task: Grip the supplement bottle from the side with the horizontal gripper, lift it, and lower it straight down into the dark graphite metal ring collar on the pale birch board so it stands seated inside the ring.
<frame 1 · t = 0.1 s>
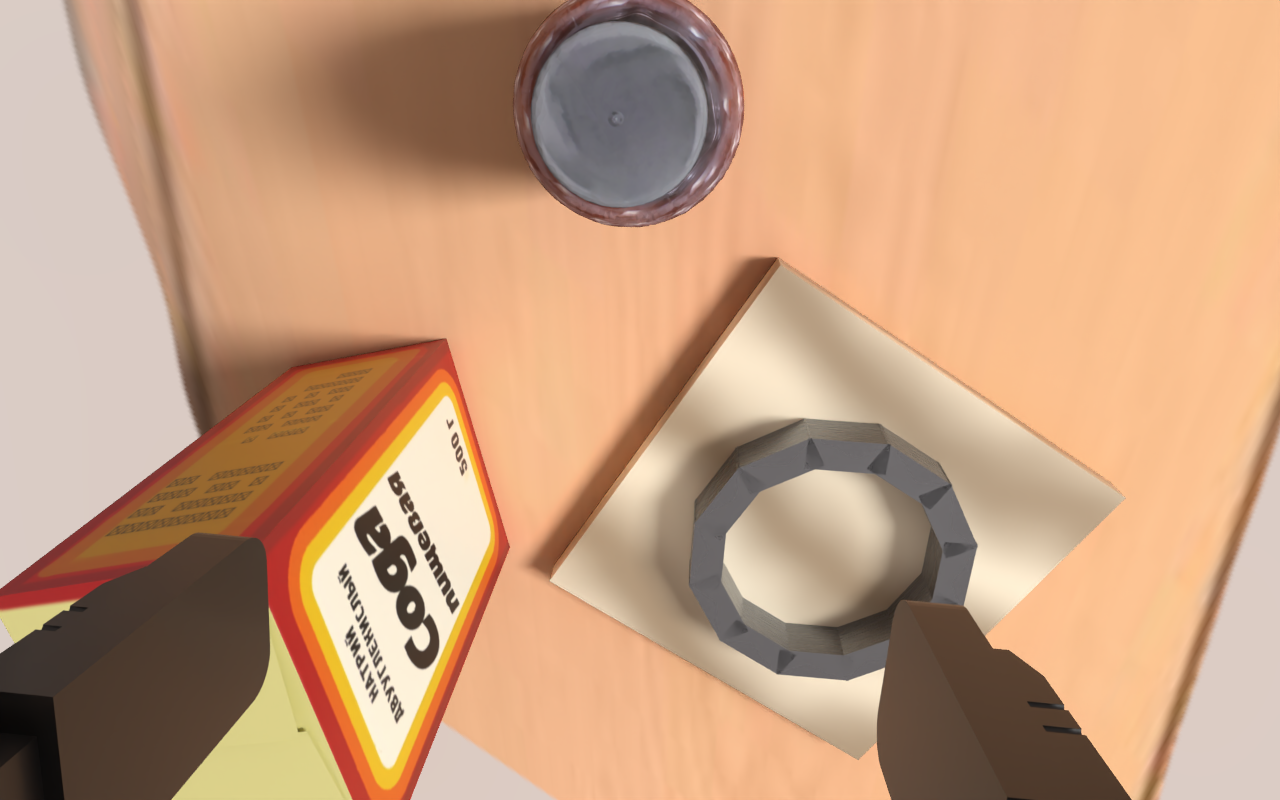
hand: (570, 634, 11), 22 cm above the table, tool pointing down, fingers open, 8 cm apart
ring collar: (826, 553, 33), on the birch board, point 2 cm above the table
baking soda box: (405, 458, 36), on the table
birch board: (820, 526, 35), on the table
supplement bottle: (646, 96, 30), on the table
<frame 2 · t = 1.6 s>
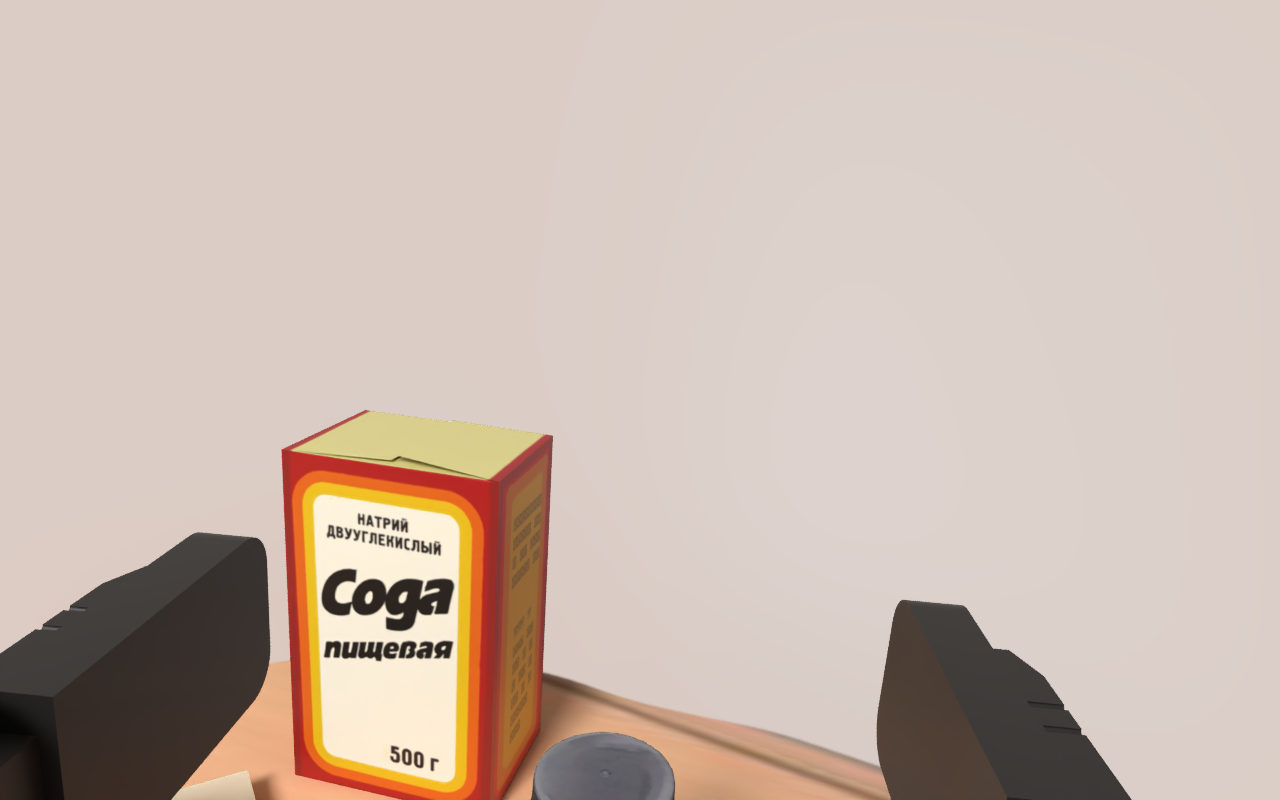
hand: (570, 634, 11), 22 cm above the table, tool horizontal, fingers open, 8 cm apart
baking soda box: (423, 754, 41), on the table
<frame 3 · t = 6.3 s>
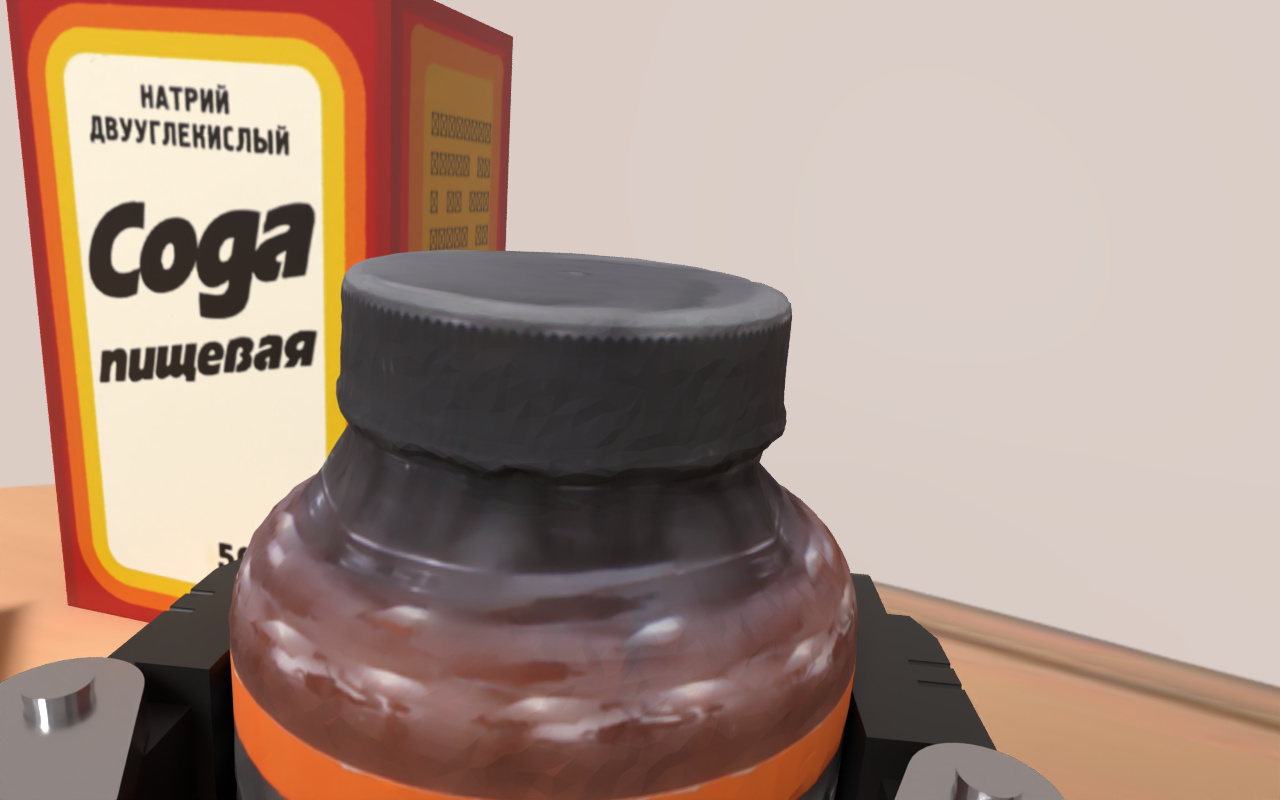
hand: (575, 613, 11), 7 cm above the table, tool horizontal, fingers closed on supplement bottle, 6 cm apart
baking soda box: (299, 589, 25), on the table
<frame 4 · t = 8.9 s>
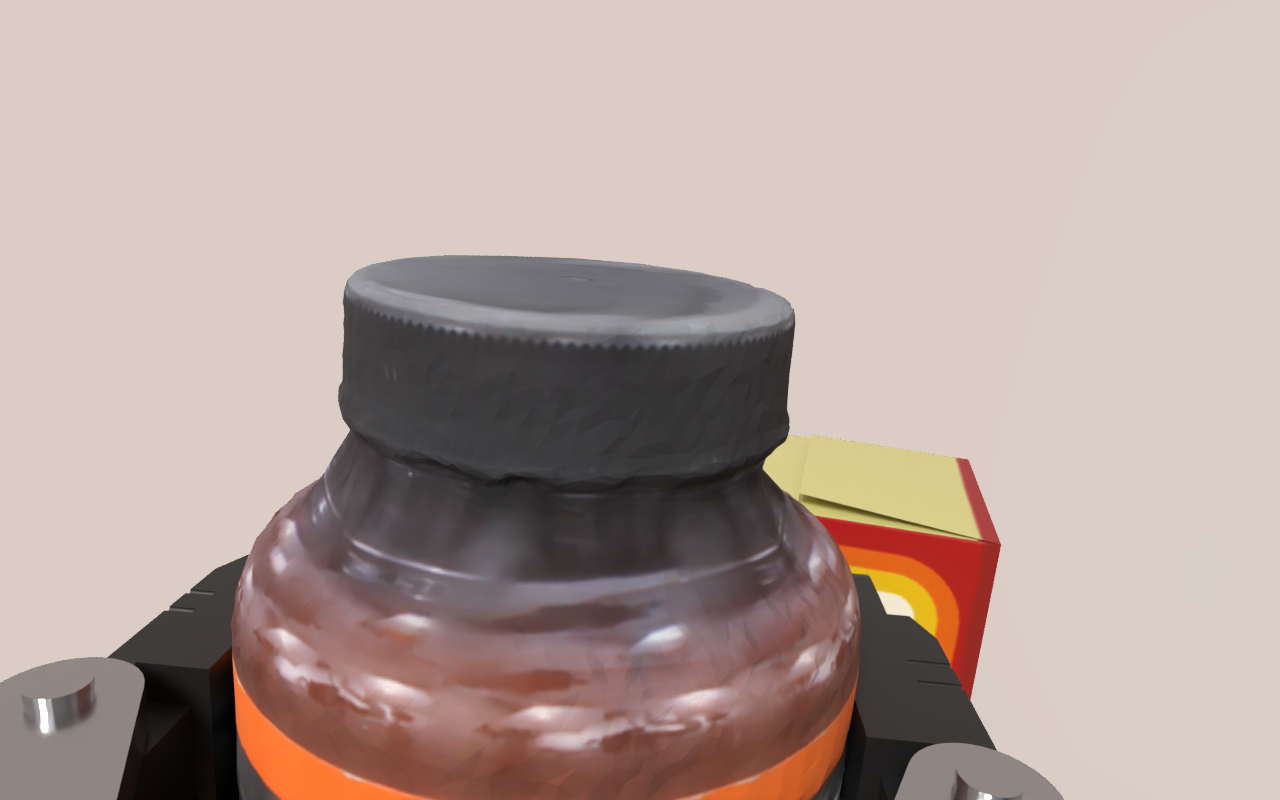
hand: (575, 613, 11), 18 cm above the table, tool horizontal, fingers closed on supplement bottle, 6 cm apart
when the fingers open (8 cm above the table, at t = 12.0 s): supplement bottle stays where it is, resting on birch board.
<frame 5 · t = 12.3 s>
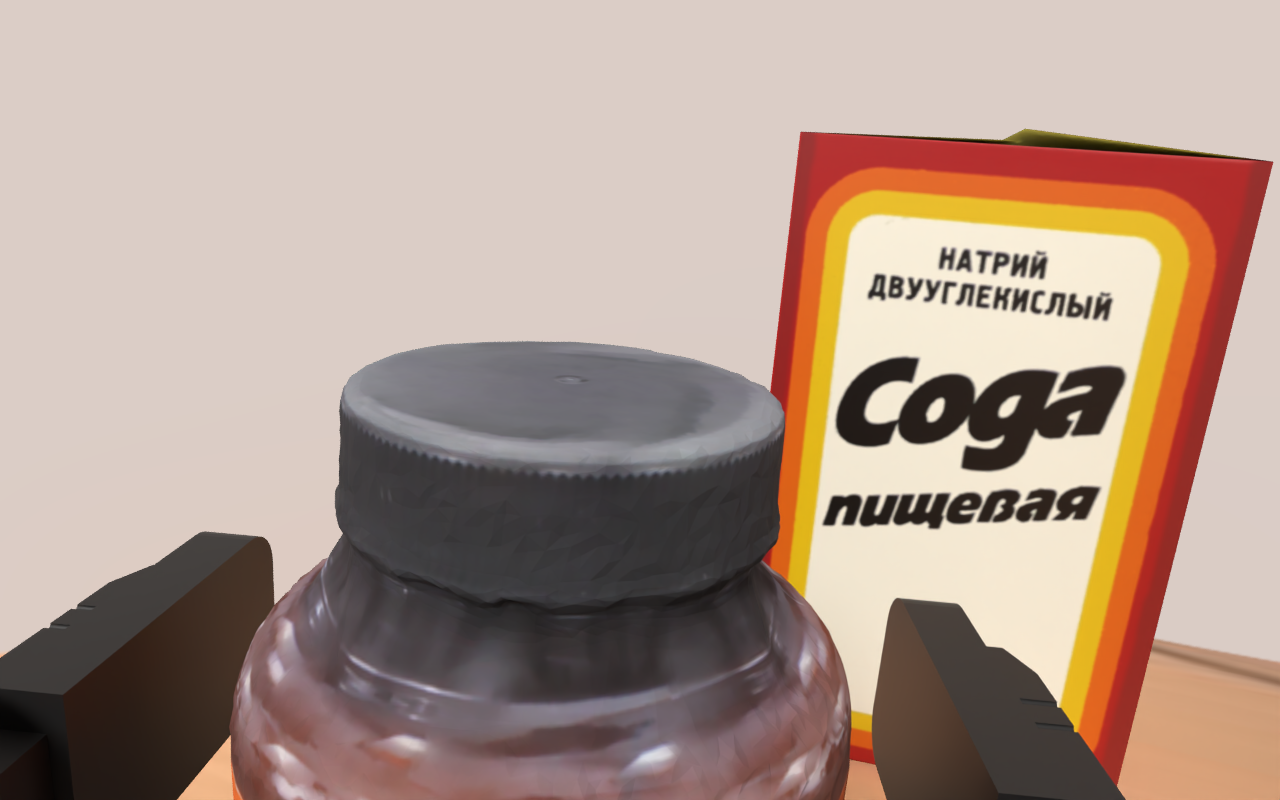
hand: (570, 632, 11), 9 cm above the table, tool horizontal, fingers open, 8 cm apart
baking soda box: (903, 707, 25), on the table
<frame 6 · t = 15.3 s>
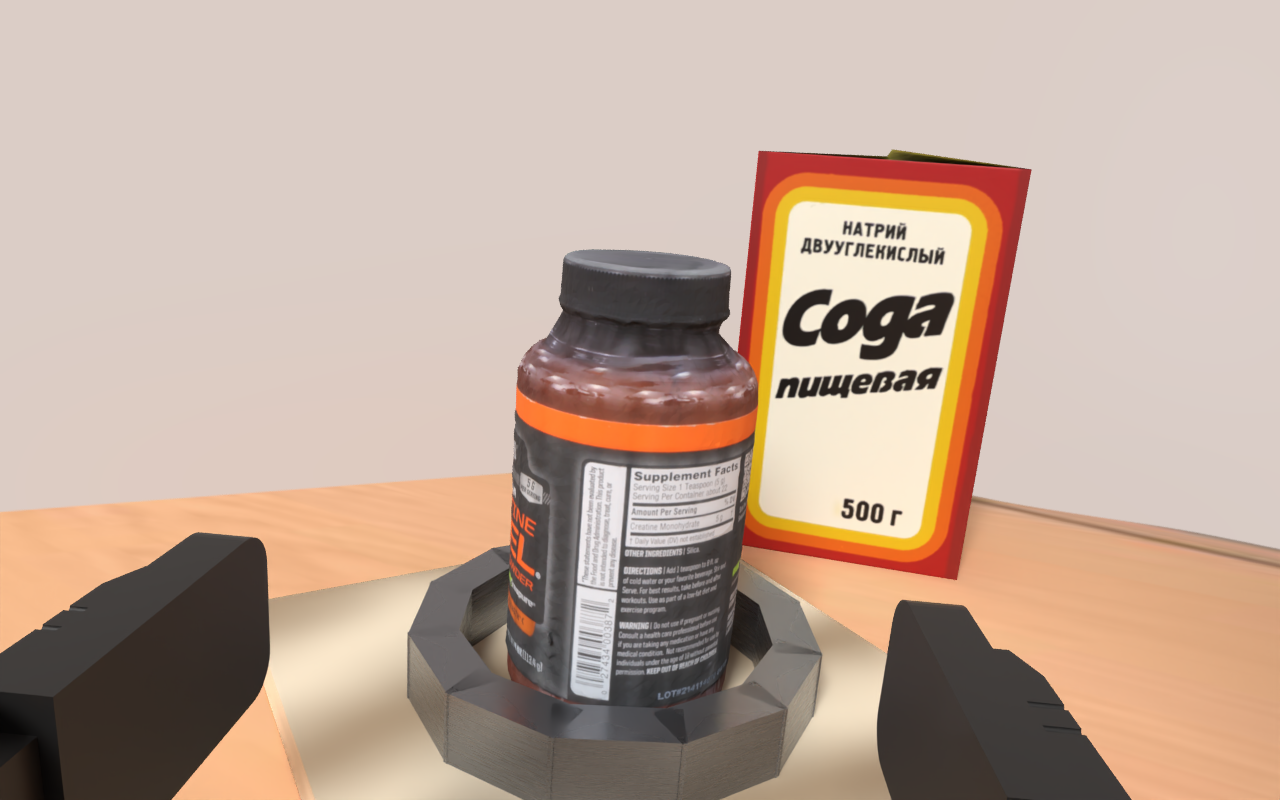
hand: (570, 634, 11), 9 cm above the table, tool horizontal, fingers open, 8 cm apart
ring collar: (614, 646, 23), on the birch board, point 2 cm above the table
baking soda box: (834, 534, 38), on the table
birch board: (609, 714, 24), on the table
supplement bottle: (614, 685, 23), point 1 cm above the table, touching birch board
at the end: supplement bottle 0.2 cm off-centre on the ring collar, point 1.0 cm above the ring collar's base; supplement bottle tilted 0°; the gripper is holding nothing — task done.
